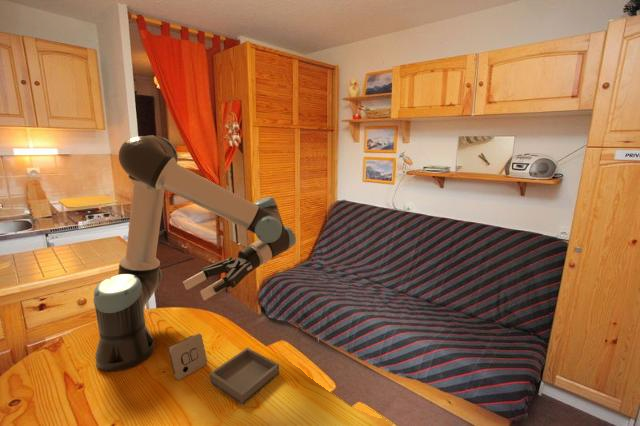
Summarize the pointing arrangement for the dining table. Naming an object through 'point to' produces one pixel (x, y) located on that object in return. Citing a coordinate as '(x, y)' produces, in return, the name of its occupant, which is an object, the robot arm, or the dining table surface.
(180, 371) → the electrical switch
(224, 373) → the box
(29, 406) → the dining table surface
